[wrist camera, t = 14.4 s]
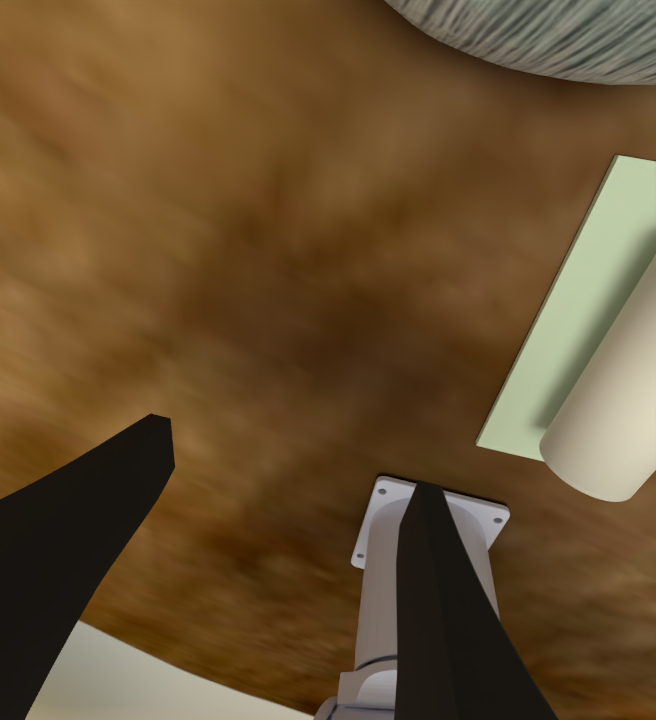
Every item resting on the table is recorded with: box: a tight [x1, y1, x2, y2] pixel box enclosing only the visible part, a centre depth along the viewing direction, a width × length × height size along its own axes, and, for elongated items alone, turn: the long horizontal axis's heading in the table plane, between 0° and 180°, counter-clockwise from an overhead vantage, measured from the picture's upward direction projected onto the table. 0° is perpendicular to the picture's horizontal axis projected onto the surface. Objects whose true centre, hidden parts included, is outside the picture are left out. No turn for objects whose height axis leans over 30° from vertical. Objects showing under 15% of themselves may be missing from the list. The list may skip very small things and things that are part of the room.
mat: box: [475, 155, 656, 462], centre depth 17 cm, size 14×8×1 cm, turn 172°
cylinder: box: [539, 255, 656, 502], centre depth 15 cm, size 10×4×4 cm, turn 171°
